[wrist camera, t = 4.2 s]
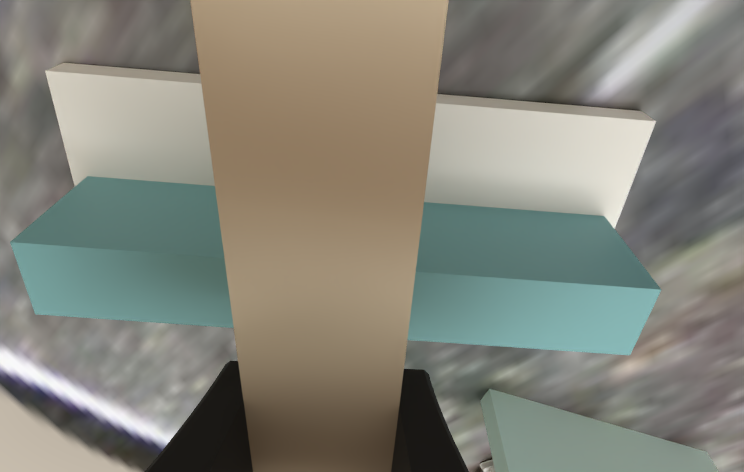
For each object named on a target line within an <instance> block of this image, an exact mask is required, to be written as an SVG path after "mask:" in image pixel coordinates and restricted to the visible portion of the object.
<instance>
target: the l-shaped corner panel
mask: <svg viewBox="0 0 744 472" xmlns="http://www.w3.org/2000/svg"><path fill="white" fill-rule="evenodd" d="M480 402H481V407H482V411H483V416H484V421H485V426H486V430H487V435H488V440H489V445H490V449H491V454H492V460H489V461H486V462H482V463H481V464H480V467H481V469H482V470H483V472H719V471H718V469H717V468H716V466H715V464H714V463H713V461H712V460H711V458H710V456H709V455H708V453H707V452H705V451H702V450H699V449H695V448H692V447H688V446H685V445H681V444H678V443H675V442H671V441H668V440H664V439H661V438H657V437H654V436H651V435H647V434H644V433H640V432H637V431H633V430H630V429H627V428H623V427H620V426H616V425H613V424H609V423H606V422H603V421H599V420H596V419H592V418H589V417H585V416H582V415H579V414H575V413H572V412H568V411H565V410H561V409H558V408H555V407H551V406H548V405H544V404H541V403H537V402H534V401H531V400H527V399H524V398H520V397H517V396H513V395H510V394H506V393H503V392H500V391H496V390H493V389H489V390H488V391H487V392H486V394H485V395H484V396H483V398H482V399H481V401H480Z"/></svg>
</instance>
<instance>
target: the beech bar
mask: <svg viewBox="0 0 744 472" xmlns="http://www.w3.org/2000/svg"><path fill="white" fill-rule="evenodd" d="M190 2H191V9H192V17H193V24H194V32H195V39H196V47H197V55H198V62H199V70H200V77H201V85H202V92H203V100H204V107H205V115H206V122H207V130H208V138H209V145H210V153H211V160H212V168H213V175H214V183H215V190H216V198H217V205H218V213H219V221H220V228H221V236H222V243H223V251H224V258H225V266H226V273H227V281H228V288H229V296H230V304H231V311H232V319H233V326H234V334H235V341H236V349H237V356H238V364H239V372H240V379H241V387H242V394H243V400H244V408H245V415H246V422H247V430H248V437H249V445H250V452H251V460H252V467H253V472H391V468H392V460H393V452H394V444H395V436H396V428H397V420H398V412H399V405H400V396H401V388H402V380H403V372H404V363H405V355H406V347H407V339H408V330H409V322H410V314H411V306H412V297H413V289H414V281H415V273H416V264H417V256H418V248H419V240H420V231H421V223H422V215H423V207H424V198H425V190H426V182H427V174H428V165H429V157H430V149H431V141H432V132H433V124H434V116H435V107H436V99H437V91H438V83H439V74H440V66H441V58H442V50H443V41H444V33H445V25H446V17H447V8H448V0H190Z"/></svg>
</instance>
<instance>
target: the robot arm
mask: <svg viewBox="0 0 744 472" xmlns="http://www.w3.org/2000/svg"><path fill="white" fill-rule="evenodd" d="M145 472H253V467H252V460H251V452H250V445H249V437H248V430H247V422H246V415H245V408H244V400H243V394H242V387H241V379H240V372H239V364H238V361H230V362H228V363H227V364H226V365H225V366H224V368H223V369H222V371H221V372H220V374H219V375H218V377H217V378H216V380H215V381H214V383H213V384H212V386H211V387H210V389H209V390H208V391H207V393H206V394H205V396H204V397H203V399H202V400H201V401H200V403H199V404H198V405H197V407H196V408H195V409H194V411H193V412H192V414H191V415H190V416H189V418H188V419H187V420H186V421H185V423H184V424H183V425H182V427H181V428H180V429H179V430H178V432H177V433H176V434H175V435H174V437H173V438H172V439H171V441H170V442H169V443H168V444H167V446H166V447H165V448H164V449H163V451H162V452H161V453H160V454H159V456H158V457H157V458H156V459H155V460H154V461H153V463H152V464H151V465H150V466H149V467H148V468H147V470H146V471H145ZM391 472H469V471H468V469H467V467H466V465H465V463H464V461H463V459H462V457H461V454H460V452H459V450H458V448H457V446H456V444H455V442H454V440H453V438H452V435H451V433H450V431H449V429H448V426H447V424H446V421H445V419H444V417H443V414H442V412H441V409H440V407H439V404H438V402H437V399H436V396H435V393H434V390H433V387H432V384H431V381H430V377H429V374H428V373H427V372H426V371H425V370H415V369H404V372H403V380H402V388H401V396H400V405H399V412H398V420H397V428H396V436H395V444H394V452H393V460H392V468H391Z"/></svg>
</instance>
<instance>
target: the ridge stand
mask: <svg viewBox="0 0 744 472" xmlns="http://www.w3.org/2000/svg"><path fill="white" fill-rule="evenodd" d="M45 72H46V76H47V80H48V84H49V88H50V91H51V95H52V99H53V103H54V107H55V111H56V115H57V119H58V123H59V127H60V131H61V135H62V139H63V143H64V146H65V150H66V154H67V158H68V162H69V166H70V170H71V174H72V178H73V182H74V186H75V187H74V188H73V189H72V190H71V191H69V192H68V193H67V194H66V195H65V196H64V197H62V198H61V199H60V200H59V201H58V202H57V203H55V204H54V205H53V206H52V207H51V208H50V209H48V210H47V211H46V212H45V213H44V214H43V215H41V216H40V217H39V218H38V219H37V220H35V221H34V222H33V223H32V224H31V225H30V226H28V227H27V228H26V229H25V230H24V231H23V232H21V233H20V234H19V235H18V236H17V237H16V238H14V239H13V240H12V241H11V242H10V243H11V246H12V249H13V252H14V255H15V258H16V260H17V263H18V266H19V269H20V272H21V275H22V277H23V280H24V283H25V286H26V289H27V292H28V294H29V297H30V300H31V303H32V306H33V309H34V312H35V314H40V315H54V316H69V317H83V318H98V319H112V320H127V321H141V322H156V323H170V324H185V325H199V326H214V327H228V328H234V326H233V319H232V311H231V304H230V296H229V288H228V281H227V273H226V266H225V258H224V251H223V243H222V236H221V228H220V221H219V213H218V205H217V198H216V190H215V183H214V175H213V168H212V160H211V153H210V145H209V138H208V130H207V122H206V115H205V107H204V100H203V92H202V85H201V77H200V74H193V73H181V72H169V71H157V70H145V69H133V68H121V67H109V66H97V65H85V64H73V63H62V64H60V65H57V66H55V67H53V68H50V69H48V70H46V71H45ZM655 123H656V121H655V120H653V119H652V118H651V117H649V116H648V115H646V114H645V113H644V112H642V111H636V110H624V109H612V108H600V107H588V106H576V105H564V104H552V103H540V102H528V101H516V100H504V99H492V98H480V97H468V96H456V95H444V94H437V99H436V107H435V116H434V124H433V132H432V141H431V149H430V157H429V165H428V174H427V182H426V190H425V198H424V207H423V215H422V223H421V231H420V240H419V248H418V256H417V264H416V273H415V281H414V289H413V297H412V306H411V314H410V322H409V330H408V339H407V340H417V341H431V342H446V343H460V344H475V345H489V346H504V347H518V348H533V349H547V350H562V351H576V352H591V353H605V354H620V355H630V354H631V352H632V350H633V348H634V346H635V344H636V342H637V339H638V337H639V335H640V333H641V331H642V329H643V327H644V325H645V323H646V321H647V319H648V316H649V314H650V312H651V310H652V308H653V306H654V304H655V302H656V300H657V298H658V296H659V293H660V291H661V289H660V287H659V286H658V285H657V284H656V282H655V281H654V280H653V278H652V277H651V276H650V274H649V273H648V272H647V271H646V269H645V268H644V267H643V265H642V264H641V263H640V262H639V260H638V259H637V258H636V256H635V255H634V254H633V252H632V251H631V250H630V249H629V247H628V246H627V245H626V243H625V242H624V241H623V239H622V238H621V237H620V236H619V234H618V233H617V232H616V230H615V226H616V224H617V221H618V219H619V216H620V214H621V211H622V208H623V206H624V203H625V201H626V198H627V195H628V193H629V190H630V188H631V185H632V182H633V180H634V177H635V175H636V172H637V169H638V167H639V164H640V162H641V159H642V156H643V154H644V151H645V149H646V146H647V144H648V141H649V138H650V136H651V133H652V131H653V128H654V125H655Z"/></svg>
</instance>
